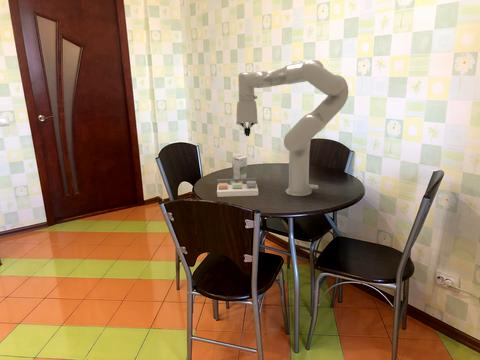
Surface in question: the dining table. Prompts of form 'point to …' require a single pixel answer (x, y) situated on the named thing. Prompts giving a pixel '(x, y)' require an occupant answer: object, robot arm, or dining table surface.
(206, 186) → the dining table surface
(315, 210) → the dining table surface
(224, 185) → the terracotta key
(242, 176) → the syrup box
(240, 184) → the sage key
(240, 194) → the keypad
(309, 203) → the dining table surface
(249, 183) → the grey key
